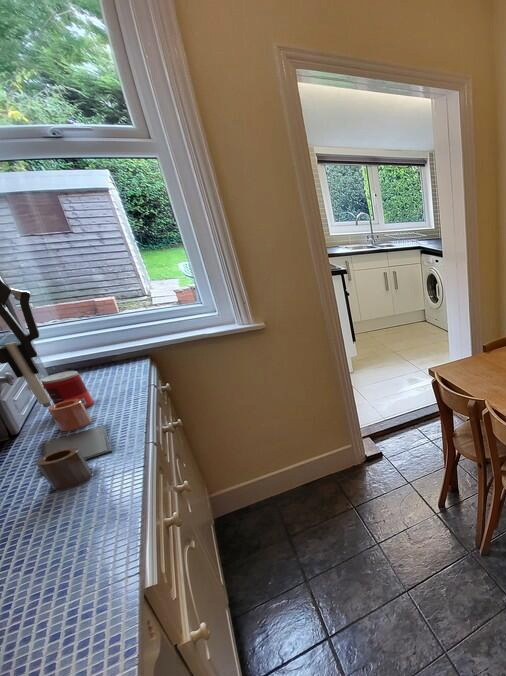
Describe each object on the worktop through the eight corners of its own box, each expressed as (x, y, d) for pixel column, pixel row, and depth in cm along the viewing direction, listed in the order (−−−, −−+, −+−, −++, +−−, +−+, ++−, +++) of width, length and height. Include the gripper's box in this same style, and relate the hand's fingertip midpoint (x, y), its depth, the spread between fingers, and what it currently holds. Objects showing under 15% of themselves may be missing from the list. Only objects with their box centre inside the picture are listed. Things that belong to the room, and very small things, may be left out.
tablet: (113, 453, 100) (111, 450, 100) (43, 477, 92) (40, 473, 92) (105, 427, 113) (103, 424, 113) (43, 446, 105) (41, 443, 105)
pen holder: (54, 433, 111) (40, 411, 108) (74, 422, 117) (62, 400, 114) (80, 431, 112) (67, 408, 109) (98, 419, 118) (86, 398, 115)
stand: (45, 493, 87) (27, 466, 84) (70, 475, 93) (54, 449, 90) (77, 489, 87) (60, 462, 85) (101, 471, 93) (86, 445, 90)
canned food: (100, 400, 130) (83, 368, 125) (85, 411, 123) (66, 378, 118) (70, 405, 128) (52, 373, 123) (53, 417, 121) (33, 383, 116)
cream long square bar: (39, 408, 91) (1, 344, 85) (47, 404, 93) (9, 342, 87) (48, 407, 91) (10, 344, 85) (55, 404, 93) (18, 341, 87)
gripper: (-108, 269, 72) (-26, 390, 82) (16, 257, 81) (75, 367, 91) (-97, 266, 77) (-22, 381, 87) (18, 256, 86) (74, 360, 96)
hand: (28, 373), depth 89 cm, fingers closed on cream long square bar, 2 cm apart
